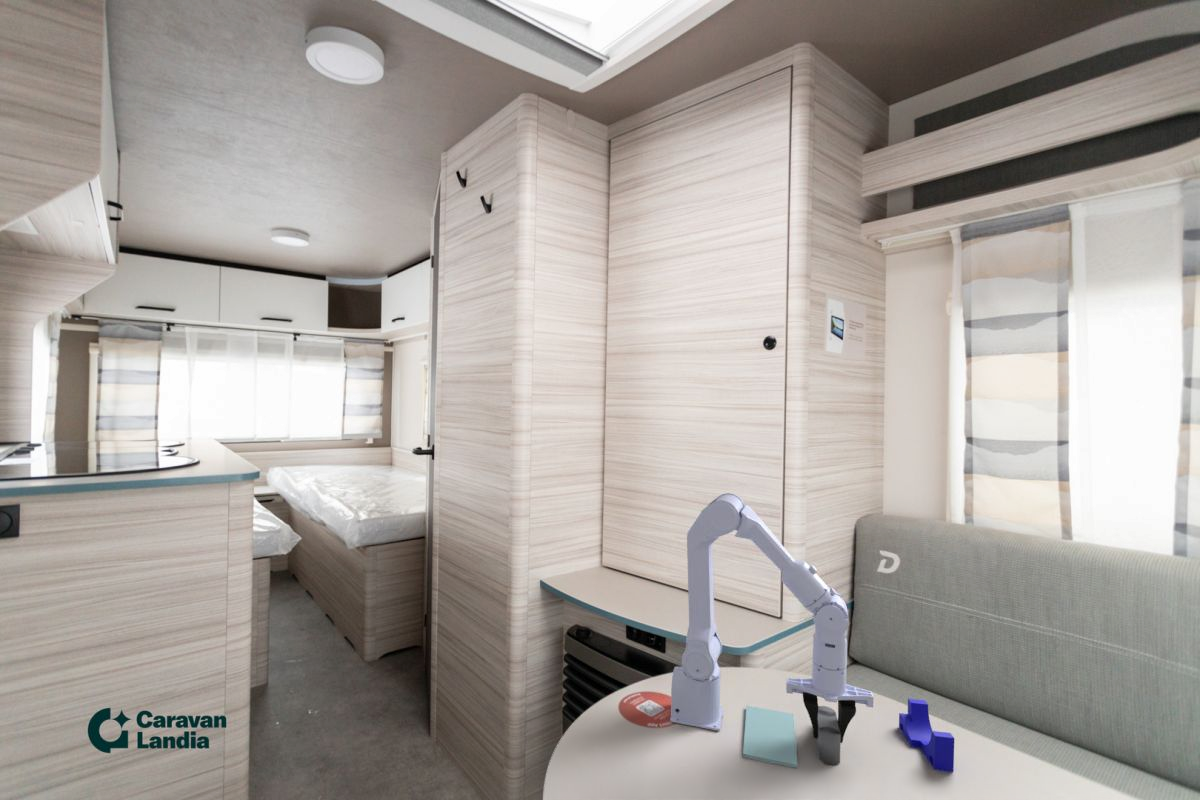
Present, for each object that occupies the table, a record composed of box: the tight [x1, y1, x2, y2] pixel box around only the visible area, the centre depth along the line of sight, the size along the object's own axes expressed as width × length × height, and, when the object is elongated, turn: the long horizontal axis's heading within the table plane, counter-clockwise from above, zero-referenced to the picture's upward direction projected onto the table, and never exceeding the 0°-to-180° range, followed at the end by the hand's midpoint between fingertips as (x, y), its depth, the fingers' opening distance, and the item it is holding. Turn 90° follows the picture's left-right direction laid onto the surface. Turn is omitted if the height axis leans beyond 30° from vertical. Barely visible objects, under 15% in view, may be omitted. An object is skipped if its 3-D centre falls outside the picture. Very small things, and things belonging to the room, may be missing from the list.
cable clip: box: [898, 698, 955, 773], centre depth 101 cm, size 12×4×6 cm, turn 171°
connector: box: [815, 705, 842, 766], centre depth 101 cm, size 4×12×4 cm, turn 163°
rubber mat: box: [742, 705, 799, 769], centre depth 103 cm, size 9×16×1 cm, turn 163°
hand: (827, 737), depth 100 cm, fingers closed on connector, 3 cm apart
